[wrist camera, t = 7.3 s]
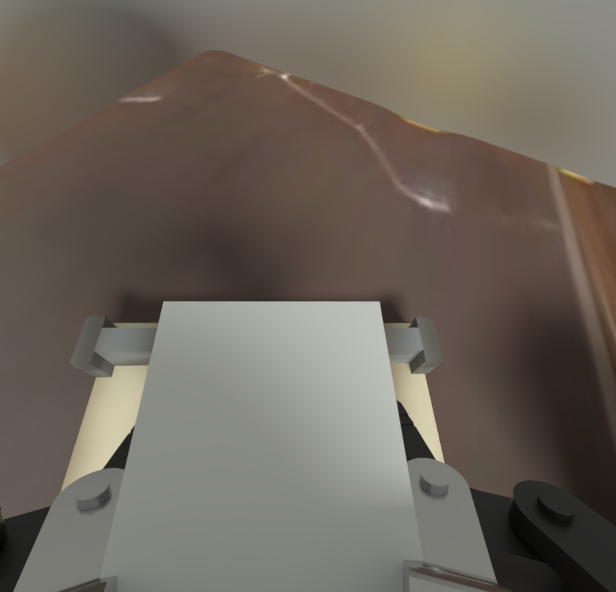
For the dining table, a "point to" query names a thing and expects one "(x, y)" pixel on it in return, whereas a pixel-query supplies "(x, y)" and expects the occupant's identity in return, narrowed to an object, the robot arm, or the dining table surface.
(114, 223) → the dining table surface
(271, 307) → the module
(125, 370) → the mount board
